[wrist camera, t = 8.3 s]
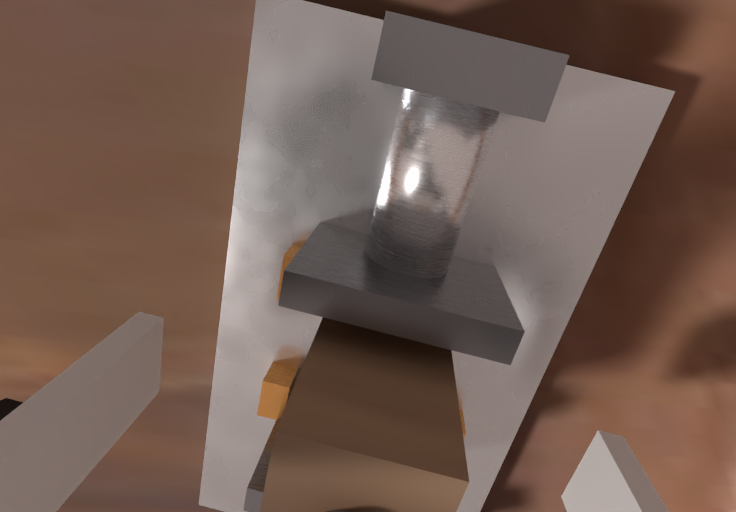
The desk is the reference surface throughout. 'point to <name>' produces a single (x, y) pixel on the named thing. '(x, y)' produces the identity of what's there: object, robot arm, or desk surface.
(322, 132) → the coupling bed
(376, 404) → the block
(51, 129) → the desk surface
